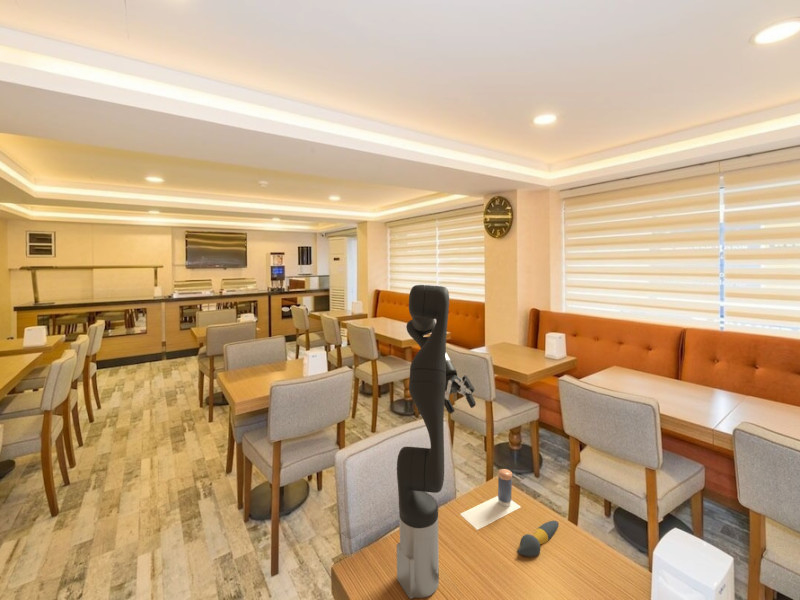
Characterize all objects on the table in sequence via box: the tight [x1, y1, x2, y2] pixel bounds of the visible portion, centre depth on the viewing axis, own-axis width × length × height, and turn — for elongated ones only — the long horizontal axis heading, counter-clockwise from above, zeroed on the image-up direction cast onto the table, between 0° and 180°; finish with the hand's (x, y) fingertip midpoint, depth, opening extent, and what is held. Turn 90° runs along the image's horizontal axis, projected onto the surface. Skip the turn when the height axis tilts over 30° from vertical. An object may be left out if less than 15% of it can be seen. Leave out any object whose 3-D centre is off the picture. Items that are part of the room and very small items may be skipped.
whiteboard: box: [459, 495, 522, 531], centre depth 108 cm, size 20×9×1 cm, turn 120°
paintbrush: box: [516, 520, 560, 558], centre depth 97 cm, size 20×5×5 cm, turn 135°
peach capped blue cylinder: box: [497, 468, 513, 507], centre depth 110 cm, size 4×4×10 cm
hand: (463, 409), depth 111 cm, fingers open, 8 cm apart
